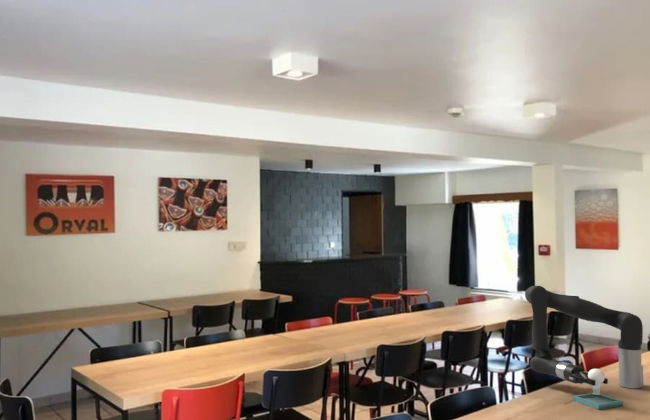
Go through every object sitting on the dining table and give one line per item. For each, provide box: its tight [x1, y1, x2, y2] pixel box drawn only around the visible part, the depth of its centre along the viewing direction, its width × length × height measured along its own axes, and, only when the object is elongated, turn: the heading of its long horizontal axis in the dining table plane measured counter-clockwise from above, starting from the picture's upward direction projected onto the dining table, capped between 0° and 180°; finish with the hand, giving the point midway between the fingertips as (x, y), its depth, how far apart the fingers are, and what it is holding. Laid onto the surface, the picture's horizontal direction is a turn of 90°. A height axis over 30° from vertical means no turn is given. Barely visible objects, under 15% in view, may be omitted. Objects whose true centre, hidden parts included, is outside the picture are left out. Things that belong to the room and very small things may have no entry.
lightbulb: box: [587, 368, 606, 396], centre depth 233 cm, size 6×6×11 cm
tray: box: [572, 392, 623, 410], centre depth 233 cm, size 13×13×2 cm
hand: (600, 382), depth 231 cm, fingers closed on lightbulb, 6 cm apart
